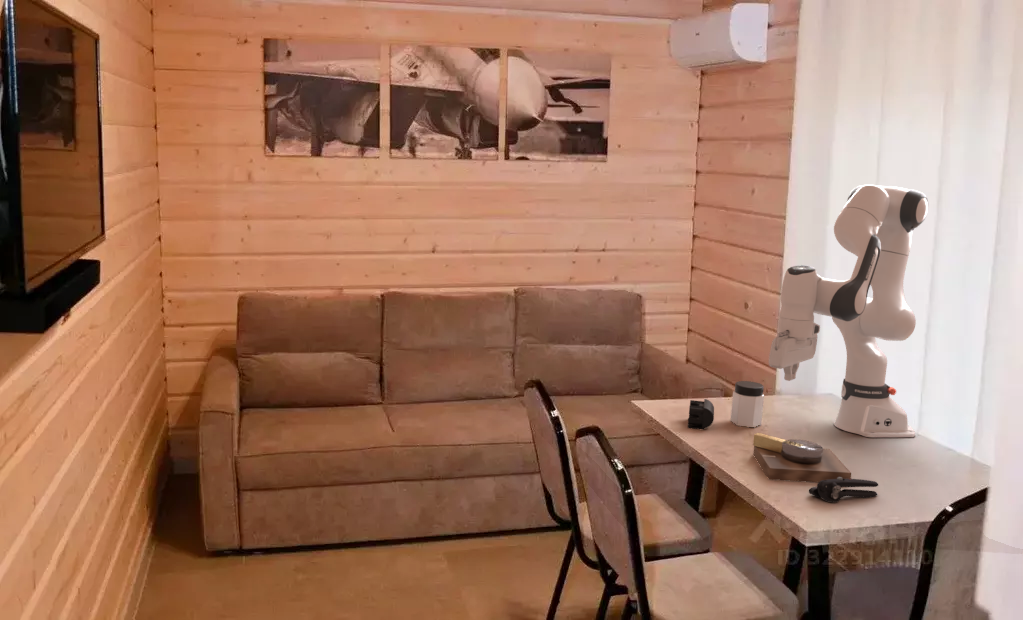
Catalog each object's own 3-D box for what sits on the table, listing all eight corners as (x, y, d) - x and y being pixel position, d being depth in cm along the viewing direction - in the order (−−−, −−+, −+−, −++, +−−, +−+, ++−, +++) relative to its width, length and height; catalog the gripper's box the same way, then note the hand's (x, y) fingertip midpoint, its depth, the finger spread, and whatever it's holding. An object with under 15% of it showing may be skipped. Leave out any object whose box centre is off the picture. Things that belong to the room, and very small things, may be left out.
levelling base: (828, 459, 252) (829, 448, 251) (850, 484, 234) (851, 472, 233) (753, 455, 252) (754, 444, 252) (768, 479, 235) (770, 467, 234)
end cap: (712, 431, 272) (714, 408, 270) (687, 428, 273) (689, 406, 272) (712, 421, 281) (715, 399, 280) (688, 419, 283) (690, 397, 281)
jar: (765, 427, 277) (769, 388, 275) (739, 428, 275) (743, 388, 273) (751, 418, 286) (755, 380, 284) (726, 419, 284) (730, 380, 282)
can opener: (822, 507, 219) (824, 484, 218) (804, 495, 226) (807, 473, 225) (886, 501, 224) (889, 479, 223) (867, 491, 231) (870, 469, 230)
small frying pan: (828, 457, 243) (829, 446, 242) (811, 466, 236) (812, 455, 235) (763, 440, 255) (765, 429, 254) (745, 448, 247) (746, 437, 247)
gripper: (788, 335, 237) (782, 388, 239) (823, 325, 252) (817, 376, 254) (765, 331, 241) (760, 383, 243) (800, 321, 256) (795, 371, 258)
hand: (789, 379), depth 249 cm, fingers closed
